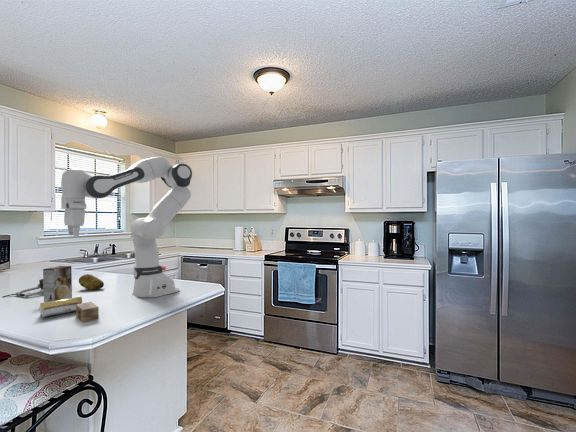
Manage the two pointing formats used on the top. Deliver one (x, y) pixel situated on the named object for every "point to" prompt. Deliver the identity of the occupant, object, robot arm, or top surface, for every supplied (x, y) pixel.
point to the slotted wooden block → (87, 311)
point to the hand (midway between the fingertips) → (73, 235)
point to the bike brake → (30, 290)
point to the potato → (90, 282)
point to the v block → (58, 311)
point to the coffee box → (57, 283)
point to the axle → (60, 303)
